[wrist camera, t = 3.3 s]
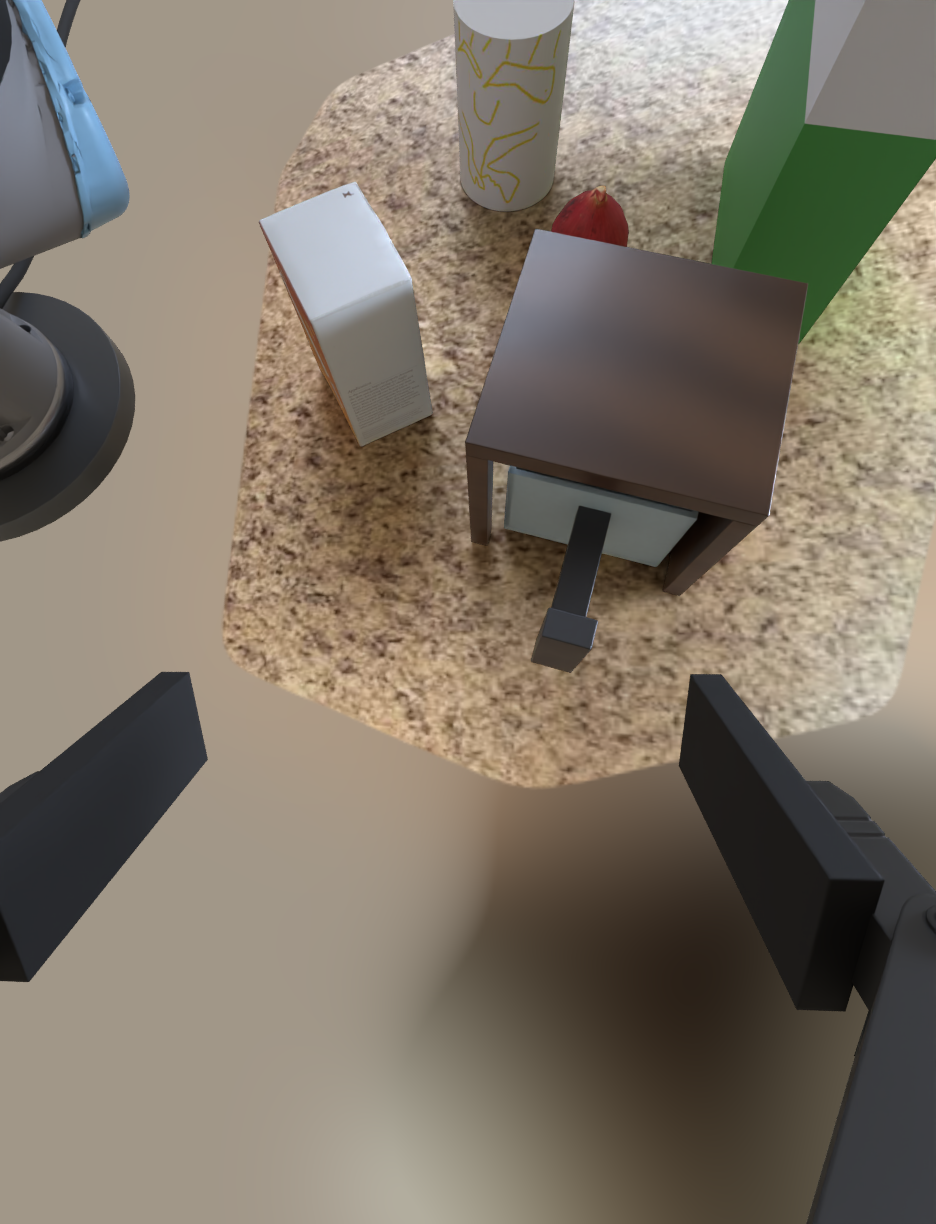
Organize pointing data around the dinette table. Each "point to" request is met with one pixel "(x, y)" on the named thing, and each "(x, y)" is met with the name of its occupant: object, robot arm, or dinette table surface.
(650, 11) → the dinette table surface
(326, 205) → the small box
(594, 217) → the onion
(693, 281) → the cabinet
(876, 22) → the green and white box
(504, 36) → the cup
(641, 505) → the drawer
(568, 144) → the dinette table surface
